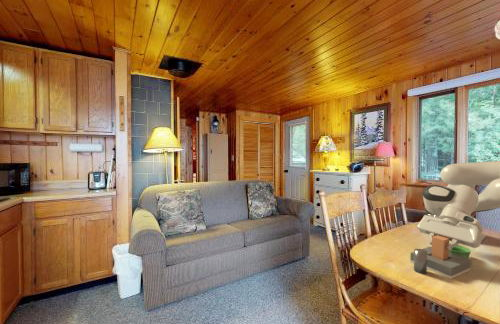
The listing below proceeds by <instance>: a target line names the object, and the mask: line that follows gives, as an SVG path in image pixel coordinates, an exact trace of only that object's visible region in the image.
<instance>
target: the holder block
mask: <svg viewBox="0 0 500 324" xmlns="http://www.w3.org/2000/svg"><path fill="white" fill-rule="evenodd" d="M422 249H423V250H425V251H427V271H431V272H433V273H435V274H439V275H440V276H443V277H445V278H448V279H450V280H452V279H454V278H456V277H458V276H459V277H460V276H461V275H463V274H465V273H467V272H469V271H471V264H472V259H470V258H469V259H466V258H463V257H460V256H457V255H454V254H451V253H449V258H448V259H446V260H440V259H437V258H435V257H432V256H431V252H432V246H428V247H425V248H422ZM409 256H410V260H409V261H410V264H411V263H412V264H413V265H414V251H411V252H410V255H409Z"/></svg>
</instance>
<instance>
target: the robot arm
mask: <svg viewBox="0 0 500 324" xmlns="http://www.w3.org/2000/svg"><path fill="white" fill-rule="evenodd" d="M439 177H440V180H441V181H442V182H444V183H445V184H446V185H447V186H445V185H443V186H442V185H440V184H432V185H431V184H430V185H428V186H426V187H425V188H423V190H422V193H421V195H422V198H423V199H422V200H423V203H424V212H425V214H424V215H423V217H422V218H421V220H420V221H419V222H418V224H417V226H416V227H417V229H418V231H419V232H420V233H422V234H425V235H428V236H429V239H430V240H429V242H428V243H429V244H430V245H431V246H432V237H433V236H437V235H438V236H442V237H445V238H449V244H446V246H445V249H446V250H449V251H451V250H452V248H453V247H456V246H458V245H462V246H463V245H464V246H467V247H470V248H474V249H476V248H479V247H480V246H481V244H482V242H483V241H484V240H485V239H486V237H487V236H486V234H484V233H483V231H484V228H483V226H482V224H481V222H480V221H479V220H478V219H477V218H476V217H474V216H476V213H481V212H487V211H488V212H489V211H493V210H497V209H500V160H495V161H493V160H492V161H481V162H480V161H477V162H459V163H450V164H447V165H446V166H444V167H443V168H442V169H441V171H440V172H439ZM476 186H486V187H484V189H483V191H482V192H481V193H479V194H478V191H476ZM450 241H451V243H450Z"/></svg>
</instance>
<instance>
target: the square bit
mask: <svg viewBox="0 0 500 324" xmlns="http://www.w3.org/2000/svg"><path fill="white" fill-rule="evenodd" d="M446 244H450V241H449V238H445V237H442V236H438V235H437V236H433V237H432V245H431V247H432V252H431V256H432V257H435V258H437V259H440V260H446V259H448V258H449V250H446V249H445V246H446Z"/></svg>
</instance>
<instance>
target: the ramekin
mask: <svg viewBox="0 0 500 324" xmlns="http://www.w3.org/2000/svg"><path fill="white" fill-rule="evenodd" d="M471 252H472V251H471V249H470V248H468V247H466V246H465V245H464V246H463V245H462V244H458V246H456V247H453V248H452V250H451V251H449V253H451V254H454V255H457V256H460V257H463V258H466V259H469V260H470V255H471Z"/></svg>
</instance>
